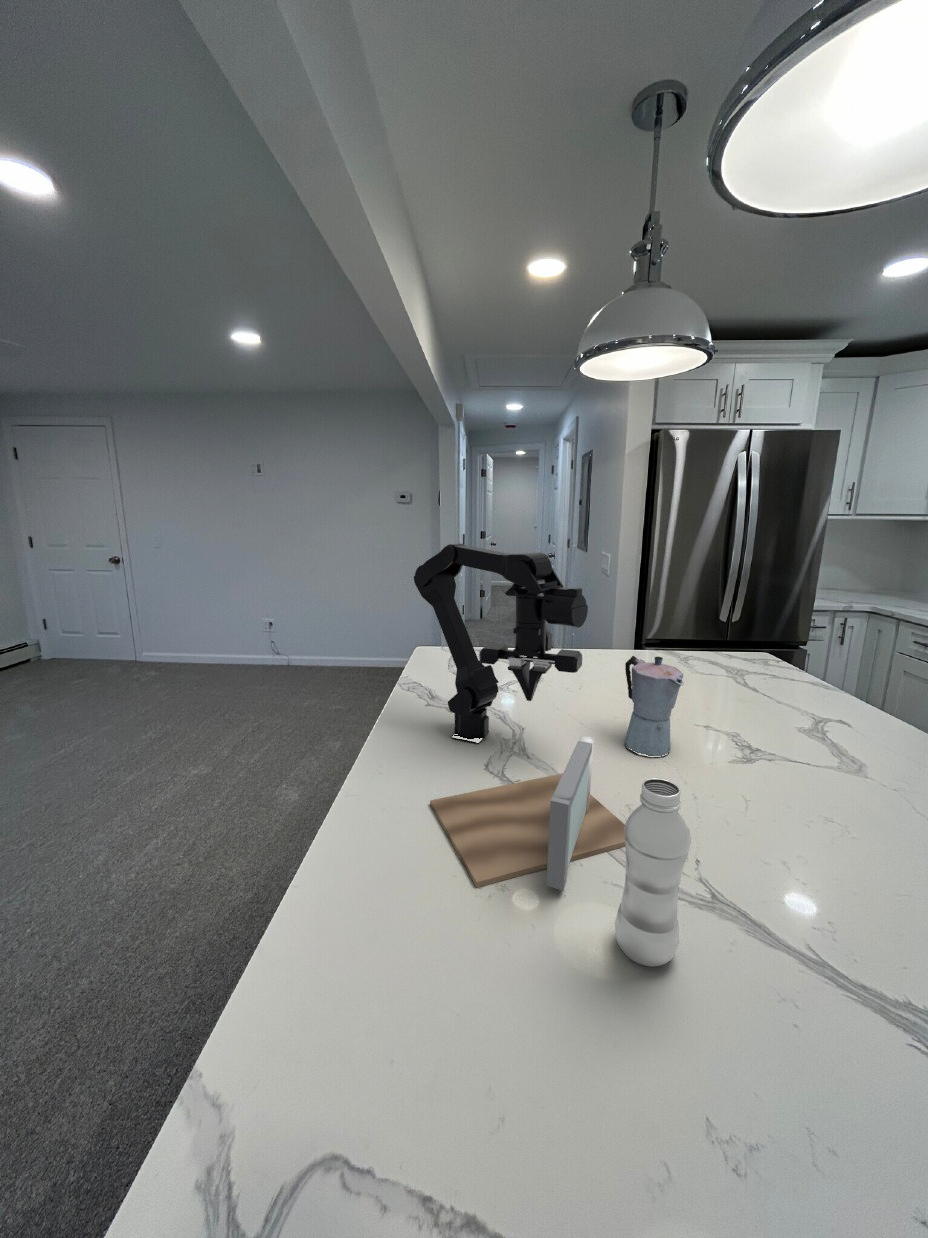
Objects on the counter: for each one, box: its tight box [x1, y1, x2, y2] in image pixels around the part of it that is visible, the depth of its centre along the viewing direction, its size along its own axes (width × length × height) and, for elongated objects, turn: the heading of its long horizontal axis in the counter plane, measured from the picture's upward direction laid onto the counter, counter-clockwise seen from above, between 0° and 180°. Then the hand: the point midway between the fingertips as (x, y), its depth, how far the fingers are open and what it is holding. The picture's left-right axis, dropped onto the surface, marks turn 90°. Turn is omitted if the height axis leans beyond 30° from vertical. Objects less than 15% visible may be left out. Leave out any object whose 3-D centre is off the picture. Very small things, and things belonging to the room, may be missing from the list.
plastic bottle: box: [614, 777, 692, 968], centre depth 54 cm, size 6×7×20 cm
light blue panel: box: [545, 735, 595, 891], centre depth 71 cm, size 20×2×12 cm, turn 157°
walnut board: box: [429, 772, 625, 888], centre depth 78 cm, size 20×26×1 cm
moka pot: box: [624, 655, 685, 756], centre depth 102 cm, size 10×15×20 cm, turn 28°
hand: (529, 700), depth 97 cm, fingers closed
